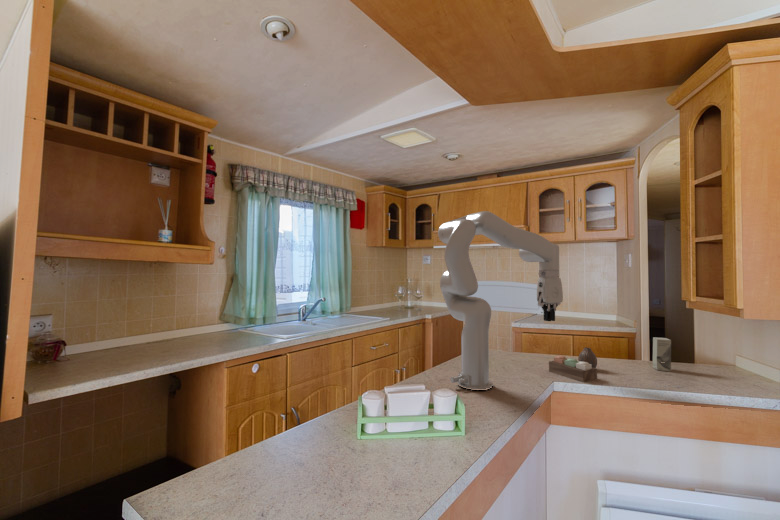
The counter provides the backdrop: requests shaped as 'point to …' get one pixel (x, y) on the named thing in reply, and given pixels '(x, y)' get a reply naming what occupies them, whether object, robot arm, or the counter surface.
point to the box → (662, 354)
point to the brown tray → (573, 372)
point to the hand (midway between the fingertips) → (549, 320)
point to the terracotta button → (560, 359)
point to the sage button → (571, 362)
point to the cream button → (583, 365)
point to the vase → (588, 357)
